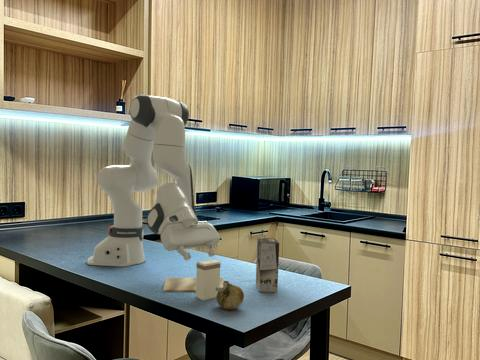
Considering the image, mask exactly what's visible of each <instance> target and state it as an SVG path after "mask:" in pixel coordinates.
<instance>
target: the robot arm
mask: <svg viewBox="0 0 480 360" xmlns="http://www.w3.org/2000/svg"><path fill="white" fill-rule="evenodd" d="M129 115H130V118H131V120H130V122H129V126H128V129H127V132H126V135H125V139H124V143H123V146H122V147H123V152H124V154H125V155H126V156H127V157H128V158H130V162H129V164H112V165H108V166H104V167H102V168H101V169H100V170H99V172H98V173H97V184H98V186H99V188H100V189H101V190H102V192H104V193H105V194H107V196H108V198H109V199H110V201H111V204H112V207H113V225H110V226H109V228H108V236H106V237H105V238H103V240H101V241H100V242H99V243H98V244H97V245H95V248H94V249H93V254H92V255H91V256H90V257H88V258H87V261H86V263H87V265H89V266H103V267H104V266H105V267H107V266H108V267H124V268H125V267H129V266H133V265H138V264H142V263H144V262H146V257H145V252H144V246H143V240H144V226H143V208H142V205H140V203H138V202H136V201H135V200H134V199H133V195H132V193H142V192H148V191H150V190H153V189H155V188H156V187H157V185H158V182H159V175H158V172H157V170H156V169H155V168H154V167H153V164H152V159H153V162H154V164H155V165H156V166H157V167H158V168H159V169H160V170H161V171H162V172H164V173H166V174H168V175H169V176H171V177H173V178H174V180H175V181H176V183H175V182H173V183H172V182H168V183H165V184H162V185H160V186H159V187H158V189H157V190H156V200H155V203H154V206H152V208H150V210H149V212H148V213H147V215H146V222H147V226H148V228H149V230H150V231H151V232H152V234H154V235H155V234H156V235H160V240H161V243H162V246H163V249H165V250H166V251H168V252H170V251H171V252H172V251H176V252H177V253H178V254H179V255H180V256H182V257H183V259H184V261H189V260H190V259H192V255H191V253H190V252H187V251H186V250H189V249H195V248H196V249H197V248H203V247H204V248H205V247H206V248H207V249H208V252H207V255H208V257H210V258H212V257H215V256H216V252H215V249H214V248H215V246H216V245H217V244H218V243H220V240H221V236H220V234H219V233H218V231H217V229H216V228H215V226H213V224H212V223H211V222H208V221H207V220H202V221H199V219H198V217H197V213H196V208H195V196H194V181H193V172H192V171H193V170H192V167H191V165H190V164H189V163H188V161H187V158H186V149H185V148H186V127H185V126H186V124H188V121H189V117H190V111H189V108H188V105H186V104H185V103H184V102H182V101H179V100H175V99H171V98H169V97H164V96H156V95H155V96H154V95H148V94H137V95H135V96H134V97H133V99H132V100H131V102H130V105H129Z"/></svg>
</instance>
